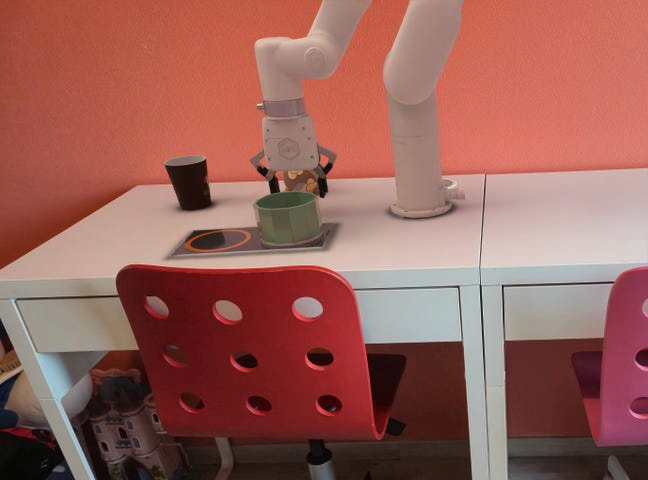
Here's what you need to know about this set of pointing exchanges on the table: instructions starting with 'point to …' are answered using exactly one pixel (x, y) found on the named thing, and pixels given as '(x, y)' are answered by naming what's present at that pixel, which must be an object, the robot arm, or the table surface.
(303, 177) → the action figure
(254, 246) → the hob
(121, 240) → the table surface
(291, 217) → the saucepan
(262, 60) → the robot arm
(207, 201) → the coffee mug
